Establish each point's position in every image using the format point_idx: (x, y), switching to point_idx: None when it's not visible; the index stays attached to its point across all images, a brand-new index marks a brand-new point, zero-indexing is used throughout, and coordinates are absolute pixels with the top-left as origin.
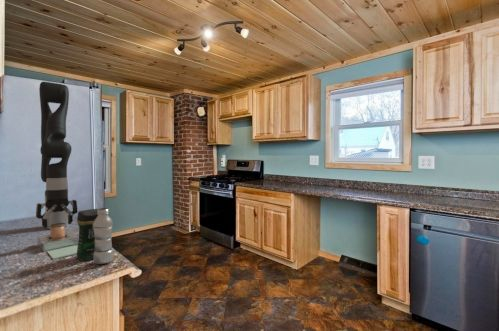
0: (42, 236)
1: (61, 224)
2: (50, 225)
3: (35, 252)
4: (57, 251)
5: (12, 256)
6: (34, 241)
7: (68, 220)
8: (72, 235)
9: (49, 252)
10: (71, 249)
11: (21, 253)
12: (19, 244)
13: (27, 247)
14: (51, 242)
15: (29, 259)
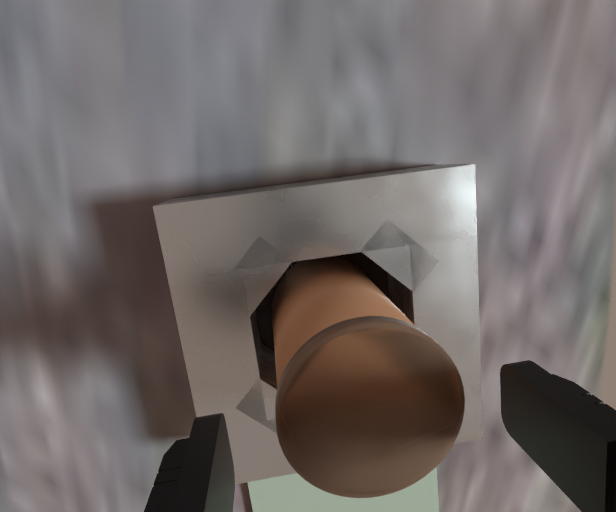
0: (201, 221)
1: (414, 448)
2: (279, 430)
3: (166, 404)
4: (304, 493)
5: (16, 409)
6: (140, 42)
7: (534, 422)
8: (456, 359)
9: (255, 487)
10: (388, 498)
11: (70, 371)
12: (10, 64)
13: (96, 226)
14: (273, 476)
15: None
